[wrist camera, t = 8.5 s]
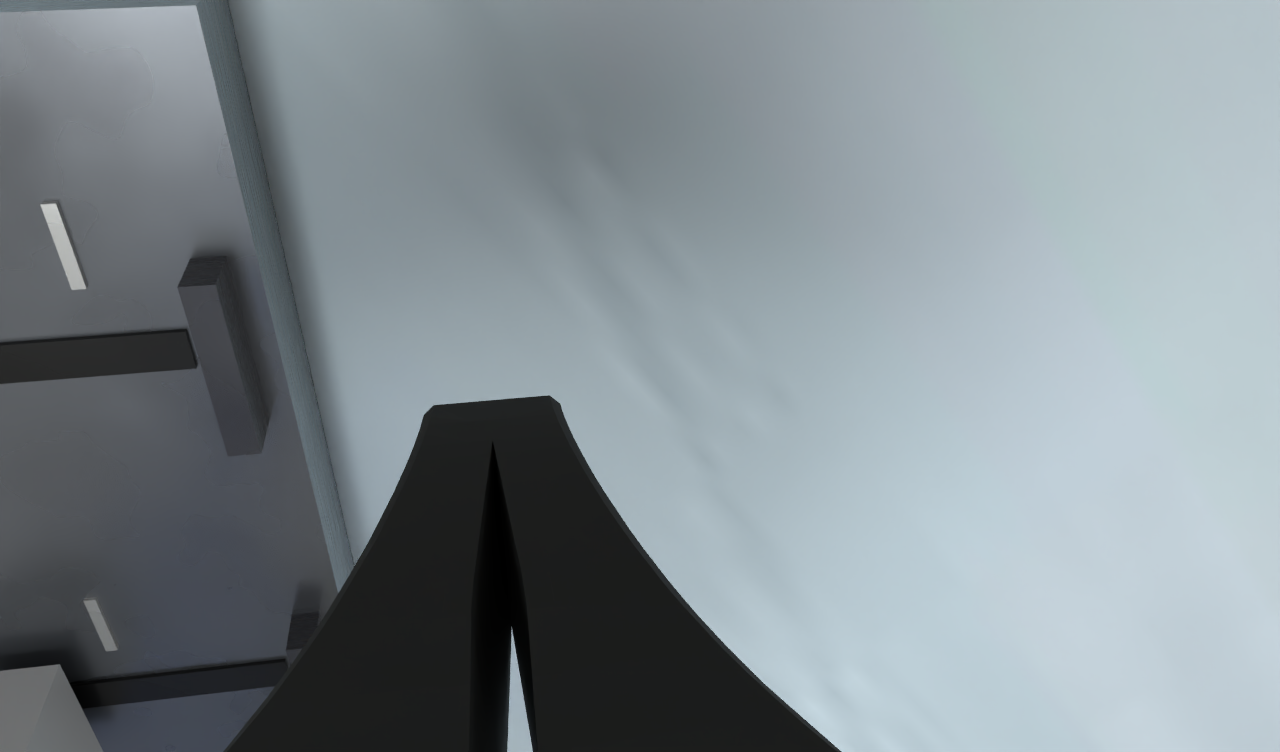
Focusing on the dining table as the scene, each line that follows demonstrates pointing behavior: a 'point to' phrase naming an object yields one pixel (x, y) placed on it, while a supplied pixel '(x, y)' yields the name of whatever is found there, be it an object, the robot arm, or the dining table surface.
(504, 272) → the dining table surface
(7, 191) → the console
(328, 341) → the dining table surface
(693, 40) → the dining table surface
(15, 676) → the fader
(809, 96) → the dining table surface
